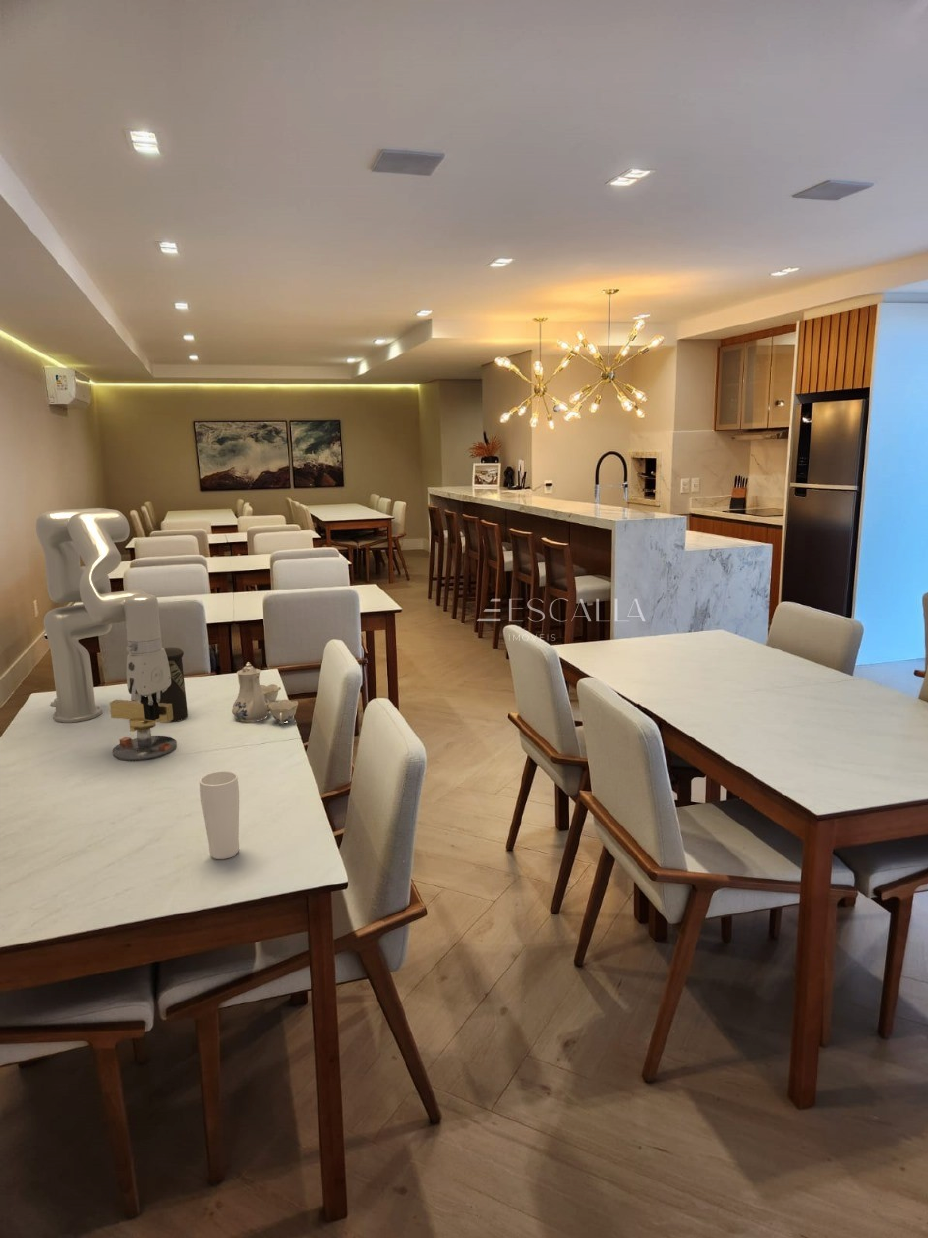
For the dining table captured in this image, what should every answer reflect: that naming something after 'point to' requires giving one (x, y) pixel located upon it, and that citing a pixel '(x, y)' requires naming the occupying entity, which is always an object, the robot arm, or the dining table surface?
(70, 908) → the dining table surface
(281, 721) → the chinaware
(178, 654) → the container
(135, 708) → the gold bar handle
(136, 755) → the post base
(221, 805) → the drinking glass
